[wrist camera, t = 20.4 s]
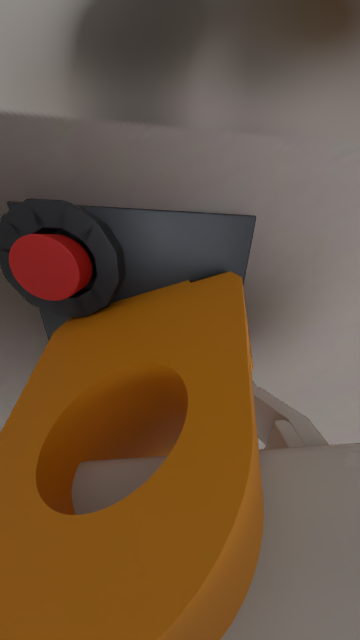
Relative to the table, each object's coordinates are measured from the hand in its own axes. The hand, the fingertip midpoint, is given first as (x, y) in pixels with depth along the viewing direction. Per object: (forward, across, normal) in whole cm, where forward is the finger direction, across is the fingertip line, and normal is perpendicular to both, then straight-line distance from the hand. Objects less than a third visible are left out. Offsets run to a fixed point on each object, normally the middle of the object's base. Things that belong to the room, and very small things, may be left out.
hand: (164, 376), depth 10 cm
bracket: (+5, 0, 0) cm, 5 cm away
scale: (+6, +2, -1) cm, 6 cm away
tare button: (+3, +5, -5) cm, 8 cm away
